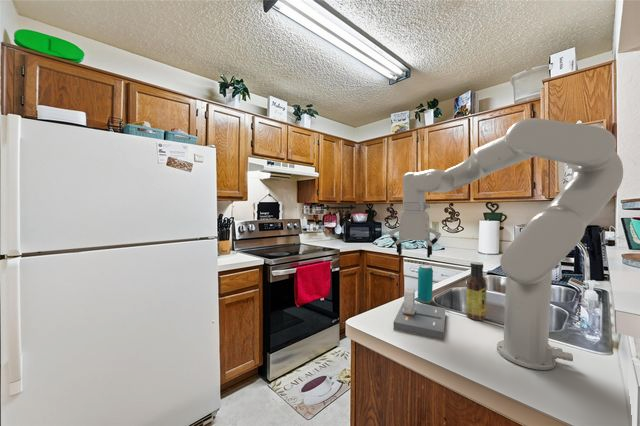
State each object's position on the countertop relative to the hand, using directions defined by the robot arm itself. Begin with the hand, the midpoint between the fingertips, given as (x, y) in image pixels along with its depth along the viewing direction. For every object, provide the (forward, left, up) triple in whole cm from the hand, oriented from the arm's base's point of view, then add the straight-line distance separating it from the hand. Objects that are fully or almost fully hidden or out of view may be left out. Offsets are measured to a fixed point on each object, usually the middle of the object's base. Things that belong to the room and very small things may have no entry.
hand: (414, 255), depth 93 cm
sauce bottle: (-20, -12, -23) cm, 33 cm away
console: (-3, +1, -23) cm, 23 cm away
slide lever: (+1, +1, -20) cm, 20 cm away
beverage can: (-2, -20, -23) cm, 31 cm away
